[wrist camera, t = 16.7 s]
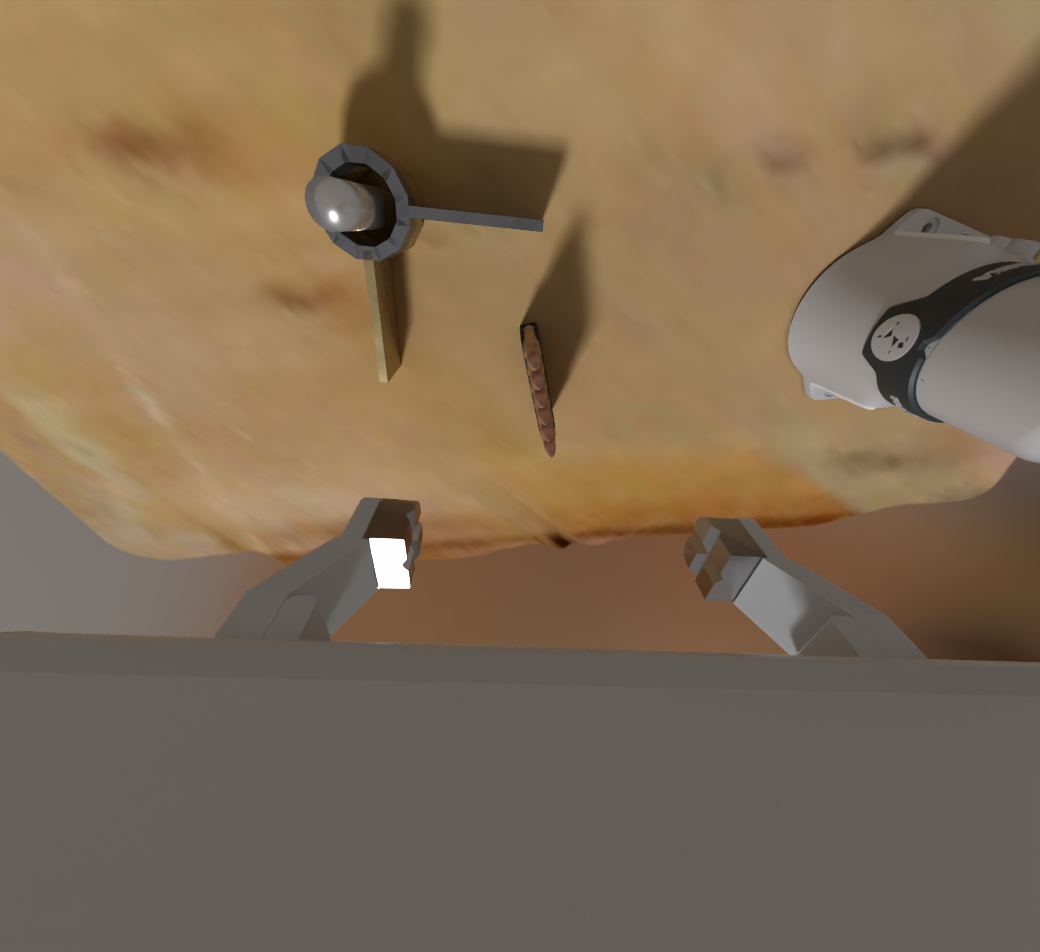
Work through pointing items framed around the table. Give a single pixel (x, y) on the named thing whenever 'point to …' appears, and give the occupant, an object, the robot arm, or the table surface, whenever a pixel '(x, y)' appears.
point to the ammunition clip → (538, 385)
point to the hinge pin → (349, 205)
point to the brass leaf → (384, 291)
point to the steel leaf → (399, 204)
